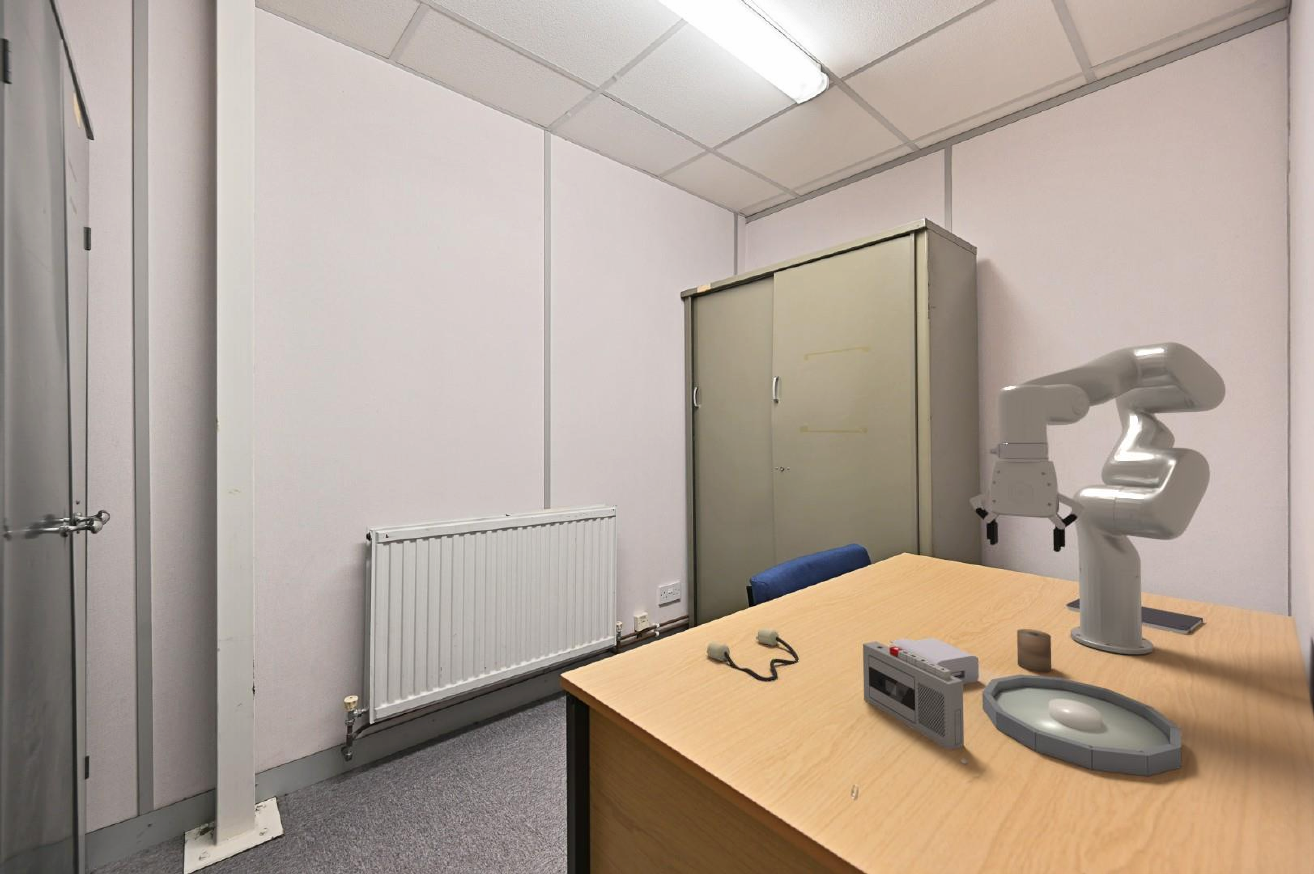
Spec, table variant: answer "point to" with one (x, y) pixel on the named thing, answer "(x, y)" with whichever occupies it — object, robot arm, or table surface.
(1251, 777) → the table surface
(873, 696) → the cassette player
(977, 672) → the charger
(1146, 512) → the robot arm
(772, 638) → the cable
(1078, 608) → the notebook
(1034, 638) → the bead
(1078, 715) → the tray
